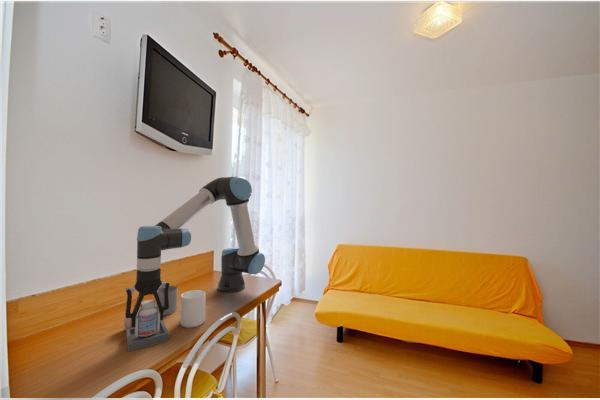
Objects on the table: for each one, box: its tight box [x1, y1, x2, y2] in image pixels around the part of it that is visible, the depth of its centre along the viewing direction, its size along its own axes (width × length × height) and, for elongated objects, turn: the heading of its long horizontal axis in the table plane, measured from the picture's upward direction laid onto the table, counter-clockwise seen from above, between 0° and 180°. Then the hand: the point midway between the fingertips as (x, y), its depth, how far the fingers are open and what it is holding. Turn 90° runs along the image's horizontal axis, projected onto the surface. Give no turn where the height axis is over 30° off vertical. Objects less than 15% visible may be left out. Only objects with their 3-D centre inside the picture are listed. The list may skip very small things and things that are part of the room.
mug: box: [179, 289, 207, 329], centre depth 105 cm, size 10×12×12 cm
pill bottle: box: [138, 299, 157, 337], centre depth 92 cm, size 6×6×11 cm
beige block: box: [123, 313, 138, 330], centre depth 99 cm, size 7×6×6 cm
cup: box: [155, 285, 179, 316], centre depth 115 cm, size 8×8×10 cm
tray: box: [125, 320, 170, 352], centre depth 92 cm, size 12×12×2 cm
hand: (147, 332), depth 92 cm, fingers closed on pill bottle, 6 cm apart
